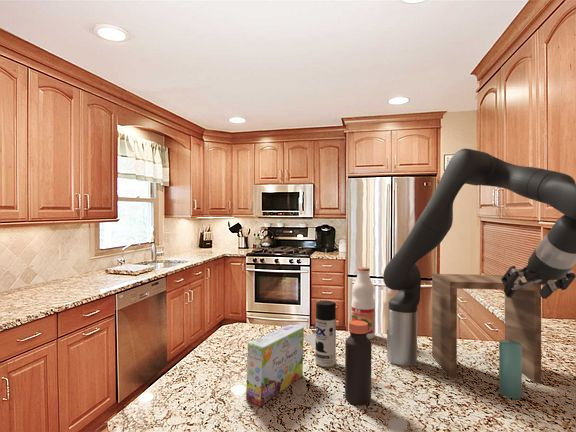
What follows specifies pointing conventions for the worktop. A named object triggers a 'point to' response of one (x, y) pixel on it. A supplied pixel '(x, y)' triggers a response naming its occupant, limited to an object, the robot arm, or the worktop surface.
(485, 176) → the robot arm
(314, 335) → the kitchen cleaver
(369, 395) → the bottle
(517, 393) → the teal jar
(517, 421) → the worktop surface
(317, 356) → the spray can
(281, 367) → the snack box
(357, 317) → the fruit juice
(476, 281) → the walnut shelf
